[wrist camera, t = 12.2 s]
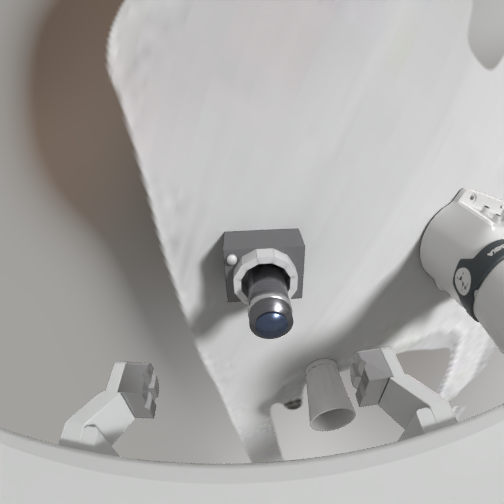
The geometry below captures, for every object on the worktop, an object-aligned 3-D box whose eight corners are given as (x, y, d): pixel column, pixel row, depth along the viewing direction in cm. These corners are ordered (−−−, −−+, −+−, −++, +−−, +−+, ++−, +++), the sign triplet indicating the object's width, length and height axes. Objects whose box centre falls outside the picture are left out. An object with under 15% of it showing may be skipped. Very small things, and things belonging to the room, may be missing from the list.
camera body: (298, 228, 44) (308, 254, 38) (296, 281, 48) (304, 311, 42) (224, 231, 44) (222, 258, 37) (229, 284, 48) (227, 315, 42)
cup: (296, 362, 57) (306, 415, 47) (338, 350, 56) (353, 402, 46) (305, 385, 61) (314, 435, 50) (343, 374, 60) (357, 423, 49)
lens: (258, 253, 40) (262, 302, 31) (291, 268, 41) (303, 317, 33) (239, 283, 42) (240, 334, 34) (272, 296, 43) (279, 347, 35)
